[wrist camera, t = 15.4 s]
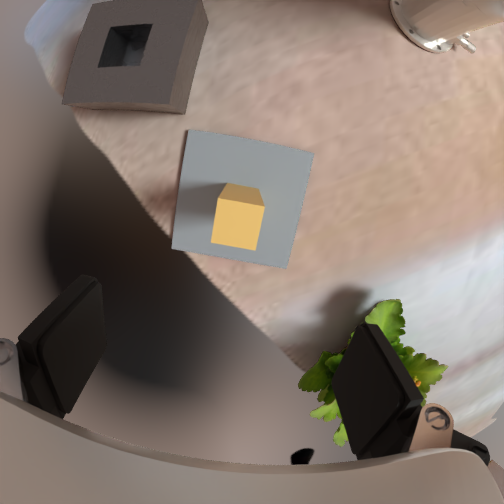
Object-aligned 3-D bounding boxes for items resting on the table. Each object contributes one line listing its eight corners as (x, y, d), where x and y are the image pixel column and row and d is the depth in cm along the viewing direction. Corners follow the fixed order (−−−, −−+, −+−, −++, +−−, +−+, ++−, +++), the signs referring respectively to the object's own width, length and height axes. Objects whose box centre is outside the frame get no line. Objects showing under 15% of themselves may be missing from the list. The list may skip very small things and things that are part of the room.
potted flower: (435, 342, 46) (477, 397, 30) (351, 410, 52) (371, 473, 35) (375, 272, 40) (435, 339, 23) (270, 367, 46) (279, 451, 29)
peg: (258, 188, 35) (264, 206, 23) (252, 218, 36) (255, 250, 25) (227, 182, 34) (218, 198, 23) (221, 213, 36) (210, 242, 24)
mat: (313, 153, 34) (314, 153, 33) (285, 267, 39) (286, 268, 39) (189, 129, 32) (188, 129, 32) (172, 247, 38) (171, 248, 37)
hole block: (208, 22, 27) (200, -5, 19) (185, 114, 32) (168, 104, 24) (116, 24, 26) (92, 4, 18) (93, 109, 30) (61, 104, 23)
